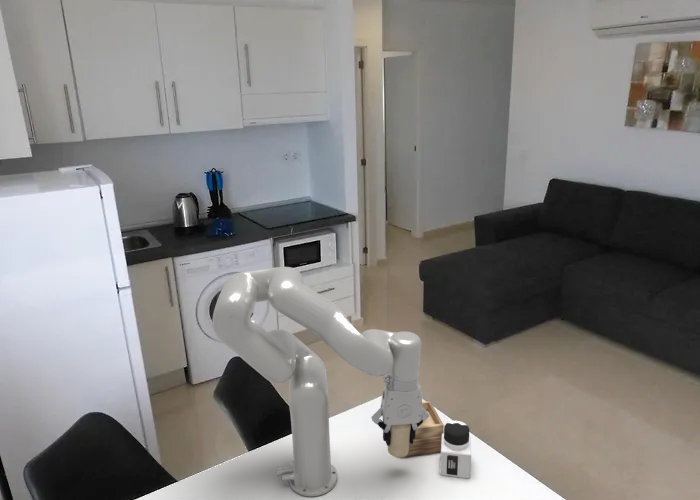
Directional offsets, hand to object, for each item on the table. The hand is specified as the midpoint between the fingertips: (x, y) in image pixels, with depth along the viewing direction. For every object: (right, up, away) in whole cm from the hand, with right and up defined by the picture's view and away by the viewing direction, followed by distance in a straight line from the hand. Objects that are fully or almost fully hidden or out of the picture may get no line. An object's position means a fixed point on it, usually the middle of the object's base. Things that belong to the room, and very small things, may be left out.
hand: (398, 440), depth 136 cm
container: (+16, -9, +4) cm, 18 cm away
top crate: (+6, -1, +14) cm, 15 cm away
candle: (0, -3, +1) cm, 3 cm away
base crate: (+6, -5, +15) cm, 18 cm away
